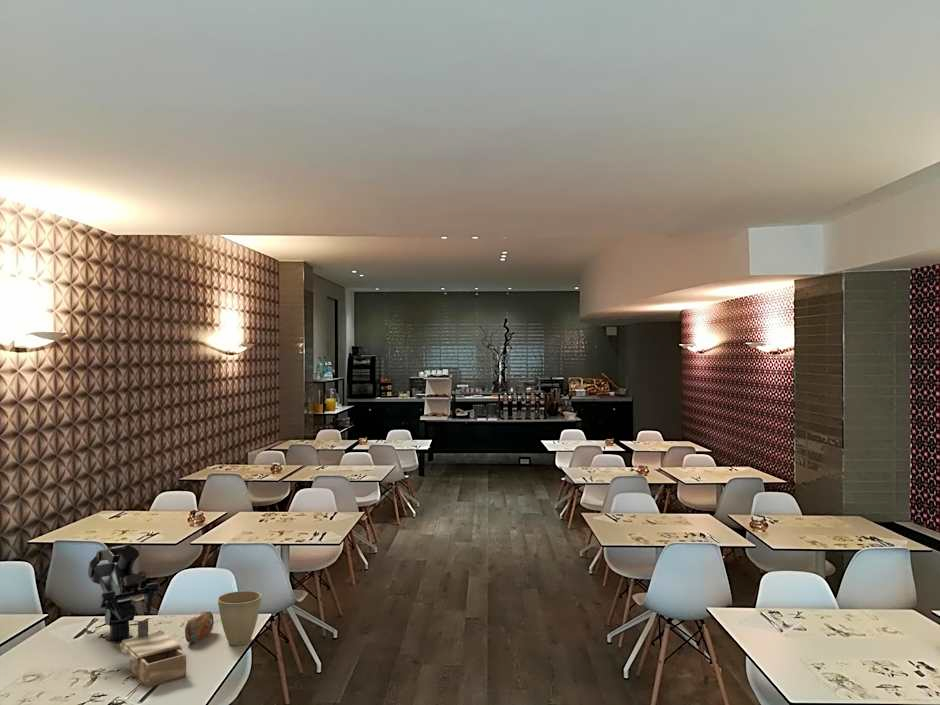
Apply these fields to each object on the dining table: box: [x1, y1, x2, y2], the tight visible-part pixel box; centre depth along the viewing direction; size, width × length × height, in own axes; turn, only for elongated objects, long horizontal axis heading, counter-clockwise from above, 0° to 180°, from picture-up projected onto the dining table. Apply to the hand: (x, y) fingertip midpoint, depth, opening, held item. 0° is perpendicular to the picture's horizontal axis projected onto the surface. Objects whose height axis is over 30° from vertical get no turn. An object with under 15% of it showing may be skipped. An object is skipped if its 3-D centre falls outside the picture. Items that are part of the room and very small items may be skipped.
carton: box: [129, 648, 187, 689], centre depth 236 cm, size 16×12×7 cm
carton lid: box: [119, 619, 183, 665], centre depth 241 cm, size 17×14×8 cm
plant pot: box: [217, 590, 262, 646], centre depth 263 cm, size 15×15×16 cm
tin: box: [184, 611, 215, 644], centre depth 266 cm, size 15×3×8 cm, turn 168°
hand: (135, 616), depth 253 cm, fingers open, 9 cm apart
